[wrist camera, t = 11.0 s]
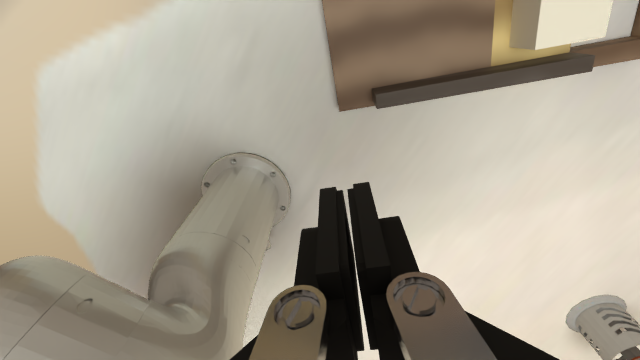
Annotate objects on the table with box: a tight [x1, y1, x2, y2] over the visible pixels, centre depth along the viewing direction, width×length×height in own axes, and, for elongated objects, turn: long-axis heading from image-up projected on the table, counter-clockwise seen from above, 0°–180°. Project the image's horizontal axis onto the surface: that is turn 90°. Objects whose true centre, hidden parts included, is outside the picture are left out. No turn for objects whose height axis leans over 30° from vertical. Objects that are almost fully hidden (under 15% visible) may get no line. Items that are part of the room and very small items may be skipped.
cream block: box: [509, 0, 613, 50], centre depth 28 cm, size 6×6×4 cm
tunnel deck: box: [322, 0, 640, 112], centre depth 30 cm, size 14×35×6 cm, turn 101°
